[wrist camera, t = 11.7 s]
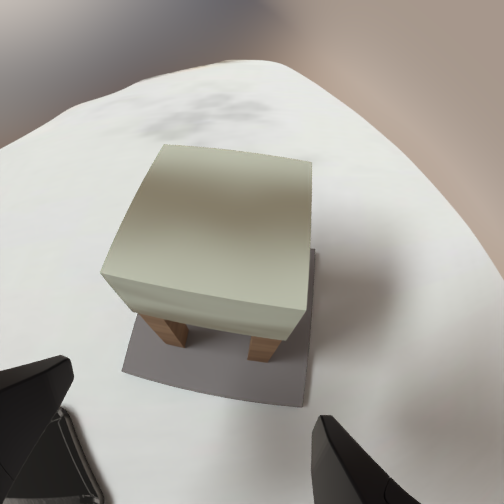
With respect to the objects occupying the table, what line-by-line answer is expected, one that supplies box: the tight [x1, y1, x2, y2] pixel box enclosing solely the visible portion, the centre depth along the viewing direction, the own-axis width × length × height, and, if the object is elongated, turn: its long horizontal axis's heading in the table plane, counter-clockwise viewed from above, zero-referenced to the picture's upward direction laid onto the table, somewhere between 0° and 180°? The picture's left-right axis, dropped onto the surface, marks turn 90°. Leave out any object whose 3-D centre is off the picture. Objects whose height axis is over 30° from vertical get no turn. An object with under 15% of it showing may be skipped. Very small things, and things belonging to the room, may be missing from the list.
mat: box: [122, 248, 315, 407], centre depth 18 cm, size 11×11×1 cm
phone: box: [3, 407, 104, 504], centre depth 10 cm, size 8×1×15 cm
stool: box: [100, 144, 312, 363], centre depth 14 cm, size 6×6×10 cm
